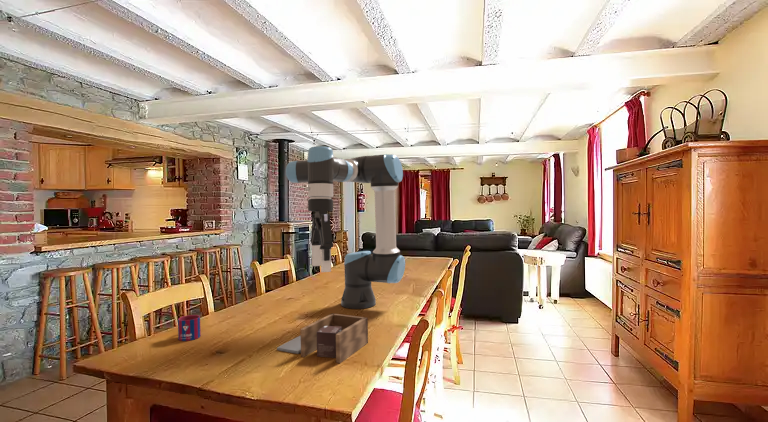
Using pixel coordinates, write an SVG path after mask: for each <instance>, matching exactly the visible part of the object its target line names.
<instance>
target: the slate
mask: <svg viewBox="0 0 768 422" xmlns="http://www.w3.org/2000/svg"><path fill="white" fill-rule="evenodd" d="M276 351H280V352H286V353H291V354H297V355H299V354H301V334H300V335H299V336H296V337H294V338H293V339H290V340H289V341H287V342H284V343H283V344H281V345H279V346H278V347H276Z"/></svg>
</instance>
